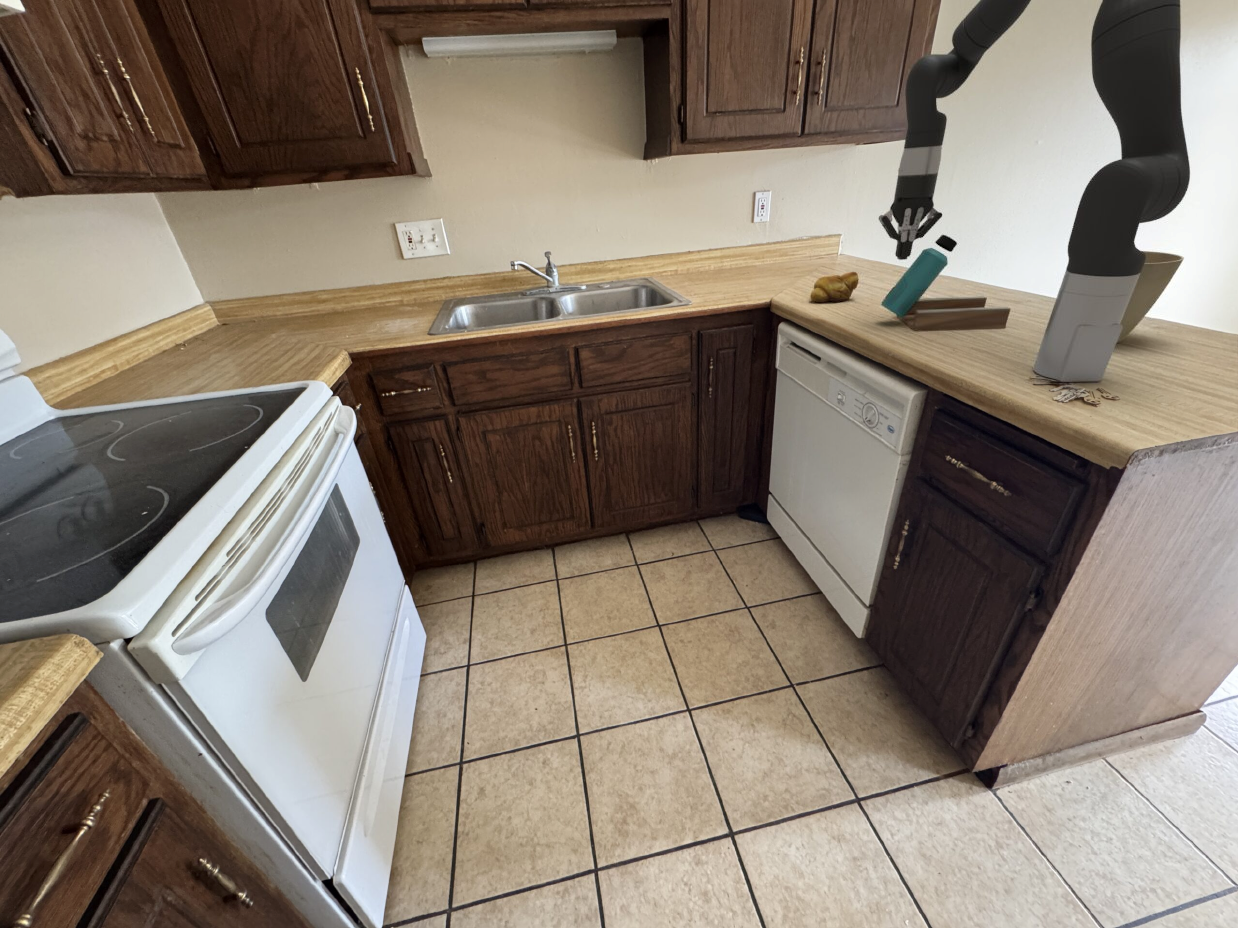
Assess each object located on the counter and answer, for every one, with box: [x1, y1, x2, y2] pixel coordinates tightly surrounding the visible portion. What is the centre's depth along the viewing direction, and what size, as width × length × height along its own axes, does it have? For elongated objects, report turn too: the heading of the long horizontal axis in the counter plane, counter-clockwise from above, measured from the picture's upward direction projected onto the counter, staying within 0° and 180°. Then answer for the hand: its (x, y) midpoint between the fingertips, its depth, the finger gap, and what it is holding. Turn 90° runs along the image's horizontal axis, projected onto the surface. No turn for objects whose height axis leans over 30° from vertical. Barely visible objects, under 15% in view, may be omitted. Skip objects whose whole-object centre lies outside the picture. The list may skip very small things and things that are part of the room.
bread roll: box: [810, 271, 859, 303], centre depth 150 cm, size 13×10×8 cm
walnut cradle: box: [896, 295, 1011, 332], centre depth 123 cm, size 13×19×4 cm
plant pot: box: [1116, 250, 1185, 344], centre depth 103 cm, size 15×15×16 cm
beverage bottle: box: [880, 234, 958, 318], centre depth 121 cm, size 6×7×20 cm
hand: (902, 259), depth 119 cm, fingers closed
